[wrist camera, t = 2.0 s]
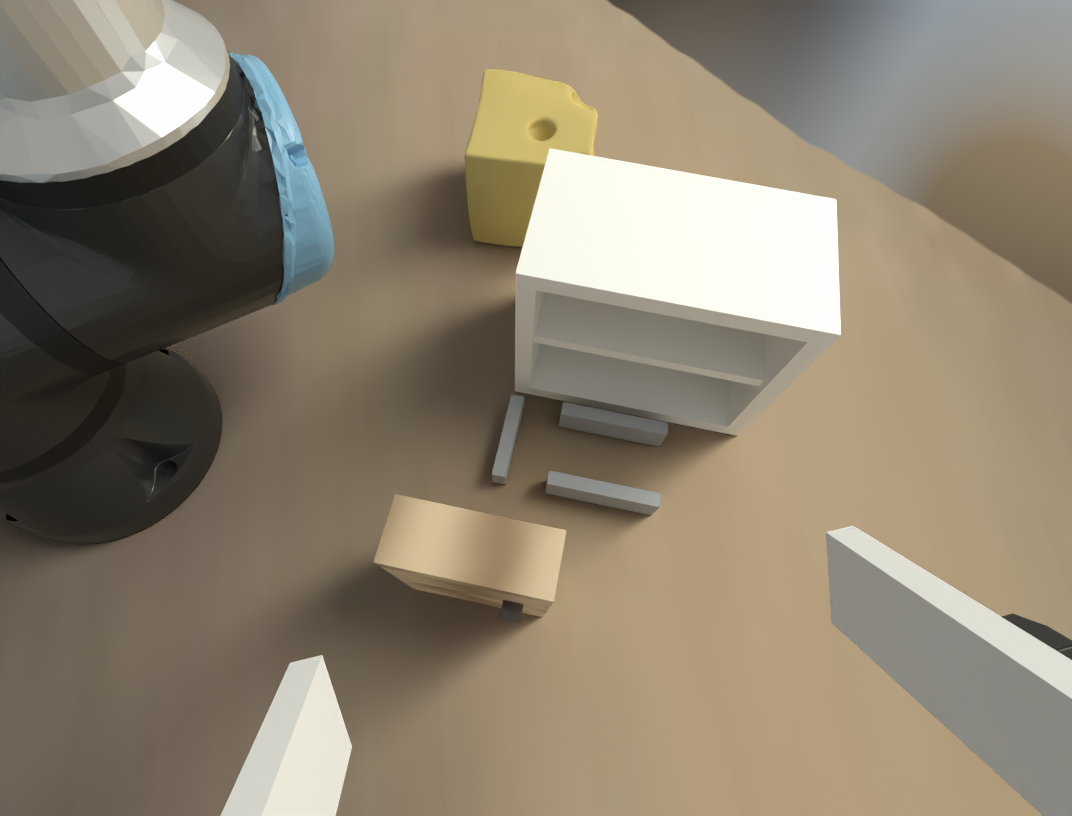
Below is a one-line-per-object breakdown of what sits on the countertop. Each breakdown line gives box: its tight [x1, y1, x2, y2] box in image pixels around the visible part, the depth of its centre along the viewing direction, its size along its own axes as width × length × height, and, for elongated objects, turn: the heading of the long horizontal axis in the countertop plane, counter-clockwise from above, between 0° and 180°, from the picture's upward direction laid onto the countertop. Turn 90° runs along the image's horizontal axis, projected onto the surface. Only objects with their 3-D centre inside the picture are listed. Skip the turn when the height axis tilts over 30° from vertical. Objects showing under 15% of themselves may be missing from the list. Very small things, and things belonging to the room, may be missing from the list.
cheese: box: [465, 69, 598, 247], centre depth 48 cm, size 10×11×10 cm
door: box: [374, 494, 567, 622], centre depth 33 cm, size 9×4×12 cm, turn 78°
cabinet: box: [492, 148, 841, 515], centre depth 37 cm, size 18×18×15 cm
